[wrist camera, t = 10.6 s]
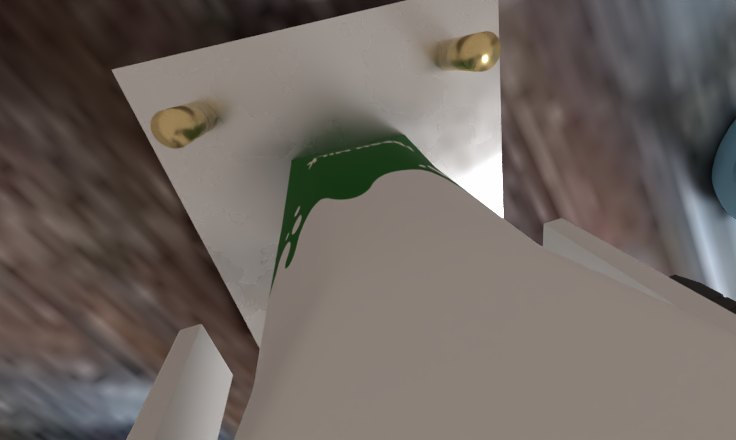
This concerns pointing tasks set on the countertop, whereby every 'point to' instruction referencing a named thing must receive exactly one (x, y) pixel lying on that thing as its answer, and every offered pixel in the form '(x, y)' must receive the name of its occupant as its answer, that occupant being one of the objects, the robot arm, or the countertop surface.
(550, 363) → the milk carton
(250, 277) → the white flat square slab
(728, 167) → the teapot
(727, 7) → the countertop surface
